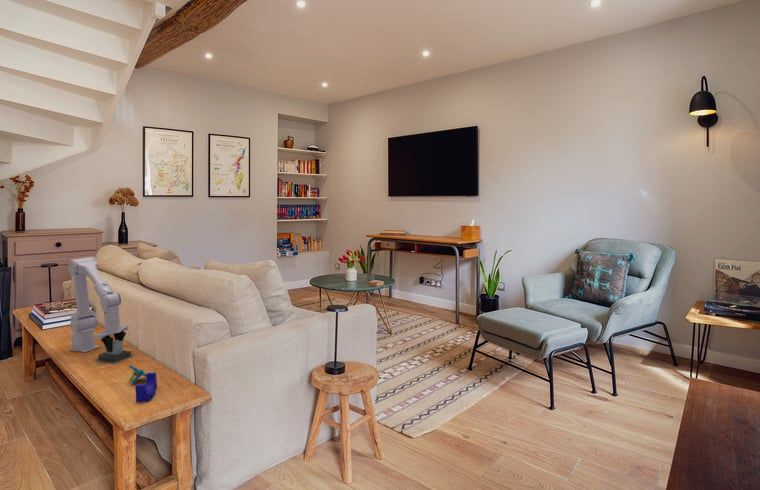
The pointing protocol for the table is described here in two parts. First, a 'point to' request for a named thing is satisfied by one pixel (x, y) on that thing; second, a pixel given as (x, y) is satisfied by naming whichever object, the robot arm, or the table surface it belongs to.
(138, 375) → the teal irregular piece
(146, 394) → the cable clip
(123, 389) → the table surface
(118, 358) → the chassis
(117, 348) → the block
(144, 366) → the table surface
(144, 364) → the table surface
